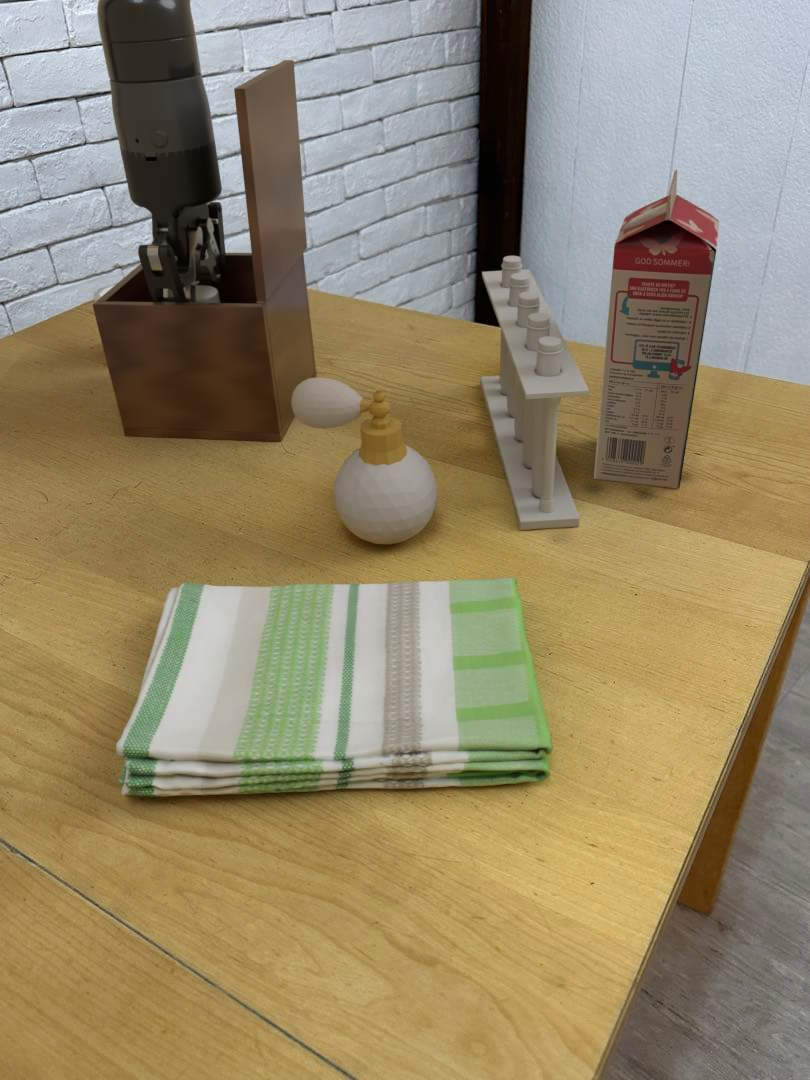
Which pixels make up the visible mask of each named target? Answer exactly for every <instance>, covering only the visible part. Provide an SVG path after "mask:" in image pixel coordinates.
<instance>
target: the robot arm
mask: <svg viewBox="0 0 810 1080" xmlns="http://www.w3.org/2000/svg"><path fill="white" fill-rule="evenodd" d="M96 11H97V14H96V15H97V24H98V30H99V35H100V39H101V46H102V51H103V55H104V62H105V65H106V70H107V75H108V79H109V86H110V93H111V94H110V95H111V96H110V97H111V108H112V109H111V110H112V115H113V121H114V125H115V130H116V135H117V140H118V143H119V144H118V145H119V151H120V155H121V159H122V165H123V170H124V173H125V179H126V184H127V188H128V189H127V190H128V193H129V198H130V200H131V202H132V203H133V204H134V205H136V206H138V207H140V208H144V209H145V210H147V211H148V212H150V214H151V229H152V230H151V235H152V242H151V243H150V244H140V245H138V249H137V255H138V258H139V261H140V264H141V265H142V268H143V271H144V275H145V278H146V281H147V284H148V288H149V291H150V294H151V297H152V301H153V302H173V303H196V286H197V285H196V284H198V285H204V286H211V287H214V288H216V289H217V290H218V294H219V299H220V303H222V301H221V295H220V289H219V285H218V284H220V283H221V279H222V276H221V272H220V271H225V270H226V266H227V262H226V253H227V252H226V243H225V241H226V240H225V231H224V230H225V229H224V218H223V207H222V204H221V202H220V201H215V200H217V199H218V198H219V197H220V195H221V194H222V191H223V187H222V180H221V179H222V178H221V173H220V166H219V162H218V161H219V159H218V153H217V146H216V139H215V133H214V125H213V120H212V119H213V118H212V113H211V107H210V101H209V97H208V94H207V90H206V87H205V83H204V79H203V74H202V69H201V62H200V56H199V49H198V43H197V36H196V28H195V24H194V19H193V14H192V7H191V0H98V2H97V8H96ZM178 269H188V272H187V273H185V274H180V273H179V271H178ZM182 283H184V285H185V293H184V289H183V285H182ZM161 289H163V293H162V290H161Z"/></svg>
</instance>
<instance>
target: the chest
mask: <svg viewBox="0 0 810 1080" xmlns="http://www.w3.org/2000/svg"><path fill="white" fill-rule="evenodd" d="M225 253H226V262H227V266H226V270H225V271H220V272H221V276H222V279H221V283H220V284H218V285H219V289H220V295H221V301H222V303H173V302H153V301H152V297H151V294H150V291H149V288H148V284H147V281H146V278H145V275H144V271H143V268H142V265H141V263H140V264H138V265H137V266H136V267H135V268H134V269H133V270H131V271H130V272H129V273H128V274H127V275H126V276H124V277H123V278H122V279H120V280H119V281H118V282H116V283H117V284H116V285H115V286H114V287H113V288H111V289H110V290H109V291H108V292H107V293H105V294H104V295H103V296H102V297H101V298H100V299H98V300H97V301H96V302H95V301H94V302H93V304H92V309H93V313H94V317H95V320H96V325H97V330H98V333H99V336H100V340H101V345H102V349H103V352H104V353H103V354H104V357H105V360H106V365H107V368H108V373H109V376H110V380H111V384H112V388H113V393H114V397H115V401H116V405H117V408H118V409H117V410H118V413H119V417H120V420H121V425H122V429H123V433H124V436H125V437H146V438H169V439H170V438H175V439H196V440H198V439H200V440H201V439H202V440H223V441H224V440H227V441H252V442H277V443H278V442H280V443H281V442H282V440H283V439H284V437H285V436H286V433H287V431H288V429H289V428H290V425H291V424H292V422H293V420H294V418H295V417H296V416H295V415H294V413H293V410H292V405H291V399H292V394H293V392H294V390H295V388H296V387H297V385H299V384H300V383H301V382H302V381H305V380H307V379H309V378H316V377H317V366H316V358H315V350H314V349H315V348H314V340H313V330H312V329H313V328H312V321H311V311H310V301H309V293H308V283H307V273H306V265H305V255H304V253H303V254H302V255H301V257H300V258H299V259H298V261H297V262H296V263H295V264H294V266H293V267H292V268H291V270H290V271H289V272H288V274H287V275H286V276H285V278H284V279H283V280H282V282H281V283H280V284H279V285H278V287H277V288H276V289H275V291H274V292H273V293H272V295H271V296H270V297H269V299H268V300H267V301H266V302H265V301H257V298H256V288H255V279H254V270H253V260H252V252H225ZM178 271H179V273H180V274H185V273H187V272H188V269H178ZM182 285H183V288H185V285H184V283H182ZM196 285H198V284H196ZM161 290H162V293H163V289H161Z"/></svg>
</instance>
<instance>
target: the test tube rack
mask: <svg viewBox="0 0 810 1080" xmlns="http://www.w3.org/2000/svg"><path fill="white" fill-rule="evenodd" d="M500 266H501V270H490V271H489V270H488V271H481V276H482V280H483V283H484V286H485V288H486V291H487V294H488V297H489V300H490V303H491V305H492V308H493V311H494V314H495V316H496V319H497V322H498V325H499V328H500V348H499V349H500V353H499V375H490V376H489V375H488V376H480V378H479V379H480V383H479V384H480V389H481V392H482V396H483V399H484V403H485V406H486V410H487V414H488V418H489V421H490V425H491V429H492V432H493V436H494V439H495V444H496V447H497V451H498V454H499V457H500V462H501V466H502V468H503V473H504V476H505V481H506V484H507V487H508V492H509V494H510V499H511V502H512V506H513V508H514V509H513V510H514V513H515V516H516V520H517V524H518V529H519V530H520V531H527V530H528V531H529V530H543V529H560V528H575V527H576V528H577V527H580V520H581V517H580V515H579V512H578V509H577V507H576V504H575V501H574V499H573V496H572V493H571V491H570V488H569V485H568V483H567V480H566V477H565V474H564V472H563V470H562V466H561V464H560V462H559V458H558V456H557V437H558V422H559V421H558V420H559V405H560V404H561V401H562V400H561V399H562V398H573V397H587V396H588V397H589V396H590V390H589V387H588V385H587V383H586V382H585V379H584V377H583V375H582V372H581V371H580V368H579V367H578V365H577V363H576V361H575V358H574V357H573V354H572V352H571V351H570V349H569V346H568V344H567V343H566V340H565V338H564V337H563V334H562V332H561V331H560V328H559V326H558V324H557V322H556V320H555V318H554V316H553V313H552V311H551V310H550V308H549V306H548V304H547V302H546V300H545V298H544V296H543V294H542V292H541V290H540V287H539V286H538V283H537V282H536V280H535V277H534V276H533V273H532V272H531V270H530V268H524V269H522V268H523V263H522V258H521V257H520V256H518V255H506V256H504V257H503V258H502V263H501V264H500Z"/></svg>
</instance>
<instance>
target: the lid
mask: <svg viewBox="0 0 810 1080" xmlns="http://www.w3.org/2000/svg"><path fill="white" fill-rule="evenodd" d="M233 91H234V92H233V93H234V100H235V101H234V102H235V109H236V120H237V129H238V138H239V145H240V146H239V147H240V156H241V165H242V166H241V167H242V175H243V185H244V194H245V203H246V205H245V206H246V211H247V224H248V232H249V242H250V249H251V250H250V251H251V253H252V260H253V270H254V279H255V288H256V298H257V301H265V302H266V301H267V300H268V299H269V297H270V296H271V295H272V293H273V292H274V291H275V289H276V288H277V287H278V285H279V284H280V283H281V282H282V280H283V279H284V278H285V276H286V275H287V274H288V272H289V271H290V270H291V268H292V267H293V266H294V264H295V263H296V262H297V261H298V259H299V258H300V257H301V255H302V254H303V255H304V253H305V252H306V250H307V249H308V241H307V228H306V215H305V214H306V213H305V199H304V186H303V185H304V184H303V174H302V173H303V171H302V170H303V169H302V158H301V143H300V131H299V130H300V128H299V117H298V116H299V115H298V102H297V101H298V100H297V87H296V73H295V61H294V59H284V60H282V61H281V62H279V63H277V64H275V65H273V66H271V67H270V68H268V69H266V70H264V71H263V72H261V73H259V74H258V75H256V76H254V77H252V78H251V79H248V80H247V81H245V82H244V83H242V84H240V85H238V86H236V87H235V88H234V89H233Z"/></svg>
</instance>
